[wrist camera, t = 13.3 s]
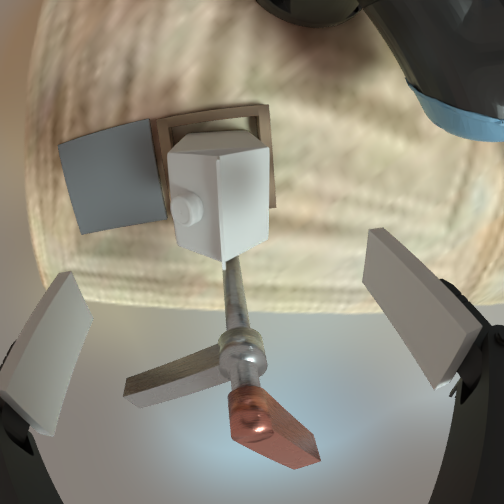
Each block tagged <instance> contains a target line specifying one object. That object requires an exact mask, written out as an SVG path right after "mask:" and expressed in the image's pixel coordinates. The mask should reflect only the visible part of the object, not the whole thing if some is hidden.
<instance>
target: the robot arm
mask: <svg viewBox="0 0 504 504" xmlns="http://www.w3.org/2000/svg"><path fill="white" fill-rule="evenodd" d="M256 1H257V2H258V3H259V4H260V5H261V6H262V7H263V8H265V9H266V10H267V11H269V12H270V13H272V14H273V15H275V16H277V17H278V18H280V19H282V20H285V21H287V22H290V23H293V24H296V25H300V26H305V27H312V28H324V27H331V26H335V25H338V24H341V23H343V22H345V21H347V20H349V19H351V18H352V17H354V16H355V15H357V14H358V13H359V12H360V11H361V10H362V8H363V10H364V11H365V13H366V14H367V15H368V17H369V18H370V19H371V21H372V22H373V24H374V25H375V27H376V28H377V30H378V31H379V33H380V34H381V36H382V37H383V39H384V40H385V42H386V43H387V45H388V46H389V48H390V50H391V51H392V53H393V55H394V56H395V58H396V60H397V61H398V63H399V65H400V67H401V69H402V71H403V73H404V74H405V76H406V77H405V79H406V82H407V84H408V86H409V87H410V88H411V89H412V90H413V91H414V93H415V95H416V96H417V98H418V100H419V102H420V104H421V106H422V108H423V110H424V112H425V113H426V115H427V116H428V118H429V119H430V120H431V121H432V122H433V123H434V124H435V125H437V126H438V127H440V128H442V129H444V130H445V131H447V132H448V133H450V134H453V135H456V136H458V137H462V138H465V139H470V140H475V141H483V142H504V0H256ZM362 282H363V284H364V285H365V286H366V288H367V289H368V291H369V292H370V293H371V295H372V296H373V297H374V299H375V300H376V302H377V303H378V305H379V306H380V307H381V309H382V310H383V312H384V313H385V315H386V316H387V317H388V319H389V320H390V322H391V323H392V325H393V326H394V328H395V329H396V331H397V332H398V334H399V335H400V337H401V338H402V339H403V341H404V343H405V344H406V346H407V347H408V349H409V350H410V352H411V353H412V355H413V357H414V358H415V359H416V361H417V363H418V364H419V366H420V367H421V369H422V371H423V373H424V374H425V376H426V377H427V379H428V381H429V382H430V384H431V385H432V387H433V389H434V390H436V389H438V388H440V387H442V386H444V385H446V384H448V383H450V382H451V380H452V378H453V377H454V375H455V374H456V372H458V374H459V375H460V377H461V378H460V379H459V381H458V382H457V384H456V385H455V387H454V388H453V389H452V391H451V392H450V395H449V397H452V396H453V394H454V393H455V391H456V390H457V392H456V396H455V398H456V399H455V406H454V412H453V418H452V423H451V428H450V433H449V437H448V442H447V446H446V450H445V454H444V457H443V461H442V465H441V468H440V471H439V475H438V478H437V481H436V484H435V487H434V490H433V493H432V496H431V498H430V501H429V503H428V504H504V326H503V325H494V326H491V325H490V323H489V322H488V321H487V320H486V319H485V318H484V317H483V316H482V315H481V313H480V312H479V311H478V310H477V309H476V308H475V307H474V306H473V305H472V304H471V303H470V302H468V299H467V298H466V297H465V296H464V295H461V292H460V291H459V290H458V289H457V288H456V287H455V286H454V285H453V284H451V283H449V282H447V281H446V280H444V279H438V278H437V277H436V276H435V275H434V274H433V273H432V272H431V271H430V270H429V269H428V268H427V267H426V266H425V265H424V264H423V263H422V262H421V261H420V260H419V259H418V258H417V257H415V256H414V255H413V254H412V253H411V252H410V251H409V250H408V249H407V248H406V247H405V246H404V245H402V244H401V243H400V242H399V241H398V240H397V239H396V238H395V237H393V236H392V235H391V234H390V233H389V232H388V231H387V230H385V229H384V228H376V229H369V231H368V241H367V249H366V258H365V265H364V272H363V279H362ZM92 321H93V316H92V314H91V312H90V310H89V309H88V306H87V304H86V302H85V300H84V298H83V296H82V294H81V291H80V289H79V287H78V285H77V283H76V280H75V278H74V276H73V273H72V271H69V272H62V273H59V274H58V275H57V276H56V278H55V279H54V281H53V282H52V284H51V285H50V287H49V288H48V289H47V291H46V292H45V294H44V295H43V297H42V299H41V300H40V302H39V303H38V305H37V306H36V308H35V309H34V311H33V313H32V314H31V316H30V318H29V319H28V321H27V323H26V324H25V326H24V328H23V329H22V331H21V333H20V335H19V336H18V339H17V340H16V341H15V342H14V343H13V344H12V345H11V347H10V349H9V351H8V353H7V356H6V357H5V358H4V360H3V364H1V366H0V504H63V502H62V500H61V498H60V496H59V494H58V493H57V490H56V489H55V487H54V484H53V483H52V480H51V478H50V476H49V474H48V472H47V470H46V467H45V465H44V463H43V460H42V458H41V455H40V453H39V450H38V448H37V445H36V443H35V440H34V437H33V435H32V434H31V433H30V432H29V431H28V430H29V426H31V427H33V428H34V429H35V430H36V431H37V432H38V433H40V434H44V435H48V436H53V437H54V433H55V429H56V426H57V422H58V418H59V415H60V411H61V408H62V404H63V401H64V397H65V394H66V391H67V388H68V385H69V382H70V379H71V376H72V373H73V370H74V367H75V365H76V362H77V359H78V356H79V354H80V351H81V348H82V345H83V343H84V341H85V338H86V335H87V333H88V331H89V328H90V326H91V323H92Z"/></svg>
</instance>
